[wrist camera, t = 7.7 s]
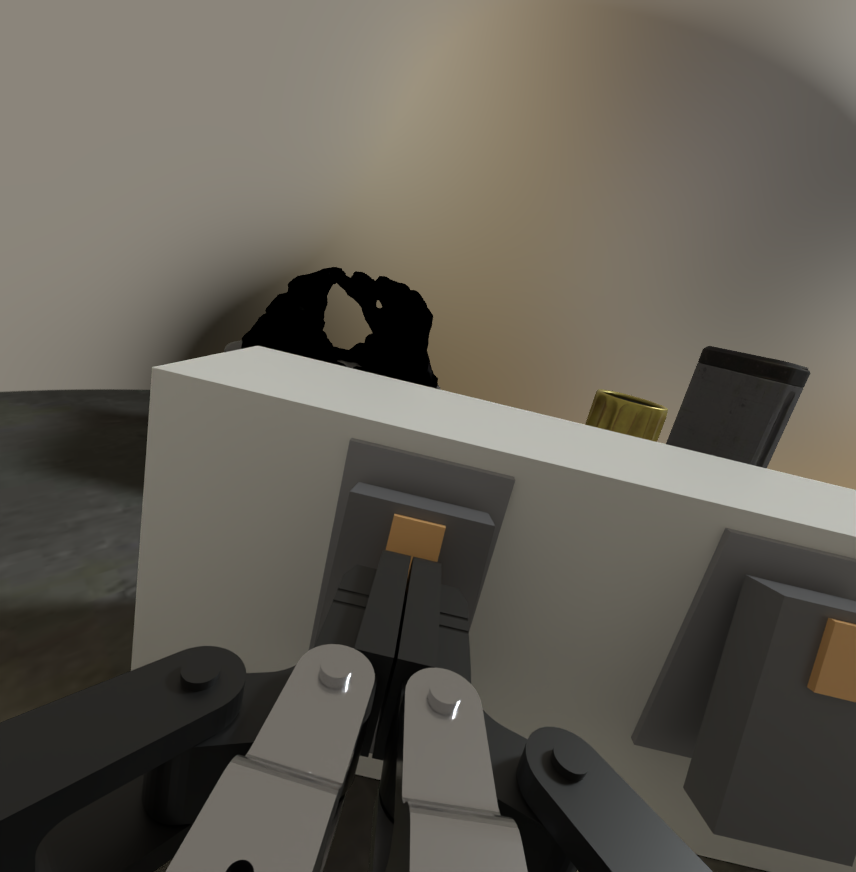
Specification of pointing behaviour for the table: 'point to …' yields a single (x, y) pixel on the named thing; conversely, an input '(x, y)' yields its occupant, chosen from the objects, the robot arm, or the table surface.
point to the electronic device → (737, 405)
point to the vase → (627, 415)
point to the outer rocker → (411, 539)
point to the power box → (507, 559)
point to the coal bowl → (391, 325)
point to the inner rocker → (782, 725)
